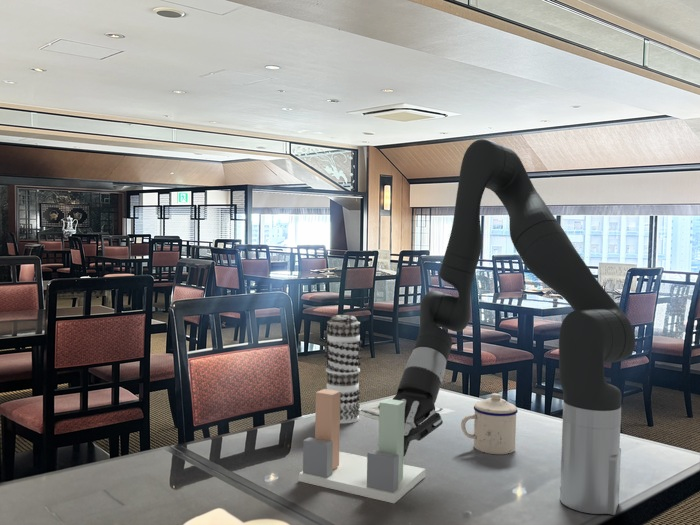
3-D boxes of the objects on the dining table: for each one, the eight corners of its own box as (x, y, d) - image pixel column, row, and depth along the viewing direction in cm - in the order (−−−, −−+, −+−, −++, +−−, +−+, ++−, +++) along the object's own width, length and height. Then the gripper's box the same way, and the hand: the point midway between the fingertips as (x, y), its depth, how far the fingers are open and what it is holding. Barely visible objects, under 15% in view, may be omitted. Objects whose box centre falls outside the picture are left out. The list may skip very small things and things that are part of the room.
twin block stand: (425, 476, 123) (426, 437, 123) (394, 503, 111) (395, 459, 110) (336, 458, 132) (337, 421, 131) (298, 481, 120) (299, 440, 119)
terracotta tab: (339, 465, 123) (340, 391, 122) (331, 470, 120) (332, 394, 119) (322, 462, 124) (324, 388, 124) (314, 466, 122) (315, 392, 121)
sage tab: (402, 479, 117) (404, 401, 116) (396, 484, 114) (397, 405, 113) (385, 475, 118) (386, 398, 118) (377, 480, 116) (379, 402, 115)
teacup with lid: (505, 440, 145) (507, 388, 145) (523, 454, 136) (525, 399, 136) (453, 442, 143) (455, 389, 143) (468, 457, 134) (470, 400, 134)
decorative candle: (348, 426, 153) (350, 319, 152) (315, 419, 158) (317, 316, 157) (367, 417, 161) (370, 315, 160) (336, 411, 166) (338, 312, 165)
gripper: (386, 361, 129) (356, 440, 118) (451, 369, 122) (425, 453, 112) (397, 382, 134) (368, 460, 123) (459, 391, 127) (435, 473, 117)
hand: (395, 456), depth 118 cm, fingers closed
